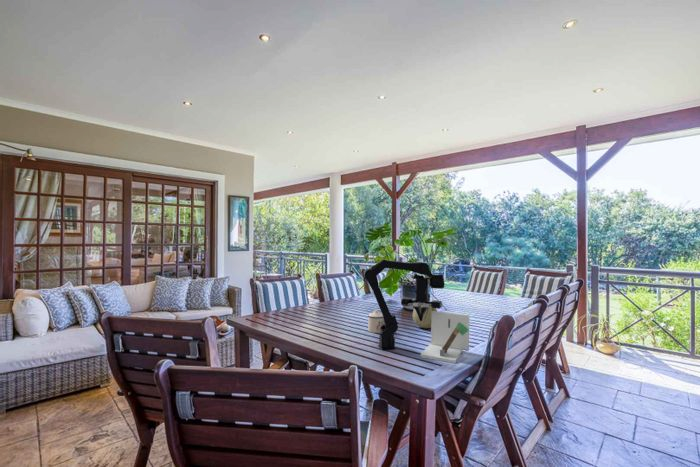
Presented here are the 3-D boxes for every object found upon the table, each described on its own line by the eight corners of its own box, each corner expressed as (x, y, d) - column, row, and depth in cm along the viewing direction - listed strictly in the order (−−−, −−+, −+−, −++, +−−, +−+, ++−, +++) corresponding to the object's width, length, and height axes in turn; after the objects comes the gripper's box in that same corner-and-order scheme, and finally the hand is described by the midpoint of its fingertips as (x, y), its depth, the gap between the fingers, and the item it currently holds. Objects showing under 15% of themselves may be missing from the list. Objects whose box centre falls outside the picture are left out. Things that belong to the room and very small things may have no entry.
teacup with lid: (378, 334, 189) (379, 312, 189) (364, 331, 194) (365, 310, 194) (389, 329, 198) (389, 309, 199) (375, 327, 204) (376, 307, 204)
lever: (440, 352, 152) (454, 329, 150) (441, 349, 156) (455, 327, 153) (444, 355, 152) (458, 331, 149) (445, 352, 155) (460, 330, 152)
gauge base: (420, 357, 153) (421, 318, 153) (430, 345, 170) (431, 310, 170) (462, 364, 145) (463, 323, 145) (469, 351, 162) (469, 314, 162)
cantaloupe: (407, 327, 204) (407, 302, 204) (421, 323, 214) (421, 299, 215) (429, 332, 194) (429, 305, 194) (442, 328, 204) (443, 302, 204)
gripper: (444, 287, 169) (444, 319, 169) (408, 284, 178) (407, 315, 178) (439, 290, 159) (439, 324, 159) (401, 287, 168) (400, 319, 168)
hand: (421, 320), depth 166 cm, fingers closed
